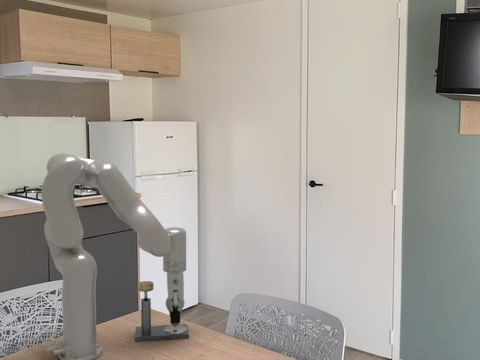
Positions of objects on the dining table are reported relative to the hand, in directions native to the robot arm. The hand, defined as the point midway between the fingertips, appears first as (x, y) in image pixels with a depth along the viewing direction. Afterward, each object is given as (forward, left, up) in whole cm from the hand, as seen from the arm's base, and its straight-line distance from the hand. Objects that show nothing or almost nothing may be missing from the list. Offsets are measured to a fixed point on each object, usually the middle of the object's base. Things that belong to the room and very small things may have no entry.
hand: (174, 319), depth 175 cm
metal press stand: (-4, +2, -5) cm, 7 cm away
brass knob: (-8, +4, +6) cm, 11 cm away
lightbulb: (0, 0, -3) cm, 3 cm away
